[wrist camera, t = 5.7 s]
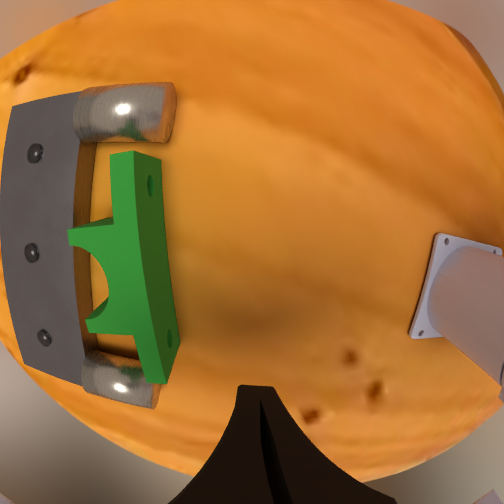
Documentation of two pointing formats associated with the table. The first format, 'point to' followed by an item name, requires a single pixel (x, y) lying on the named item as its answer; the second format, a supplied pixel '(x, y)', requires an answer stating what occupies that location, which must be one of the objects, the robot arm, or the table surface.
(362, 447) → the table surface
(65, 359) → the fixed leaf
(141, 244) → the green notched block
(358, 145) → the table surface
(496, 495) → the robot arm
